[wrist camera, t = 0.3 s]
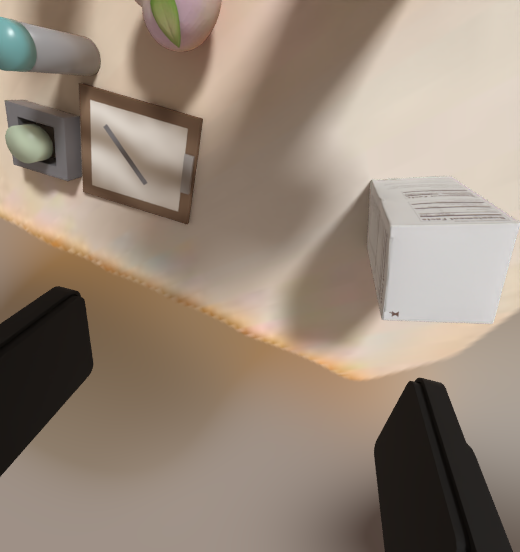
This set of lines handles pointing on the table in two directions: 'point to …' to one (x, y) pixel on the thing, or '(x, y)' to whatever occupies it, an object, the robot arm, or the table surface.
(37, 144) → the button
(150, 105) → the clipboard
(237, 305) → the table surface
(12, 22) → the marker
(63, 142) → the button housing
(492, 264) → the supplement box
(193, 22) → the decorative fruit
